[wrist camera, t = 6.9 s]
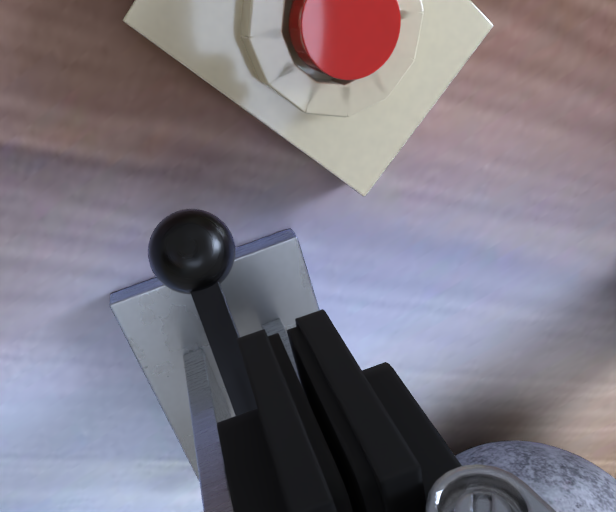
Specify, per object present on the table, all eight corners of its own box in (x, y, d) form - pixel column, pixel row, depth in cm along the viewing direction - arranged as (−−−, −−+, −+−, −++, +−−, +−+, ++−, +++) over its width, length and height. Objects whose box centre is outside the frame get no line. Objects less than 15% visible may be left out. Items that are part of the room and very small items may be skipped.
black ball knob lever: (144, 232, 22) (127, 219, 19) (220, 205, 23) (215, 188, 20) (258, 544, 22) (259, 583, 18) (334, 510, 22) (348, 544, 19)
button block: (123, 19, 22) (120, 21, 18) (256, -195, 20) (281, -238, 17) (348, 184, 27) (380, 210, 23) (467, 24, 25) (520, 26, 22)
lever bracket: (109, 293, 26) (91, 483, 15) (291, 227, 27) (387, 363, 17) (198, 469, 31) (229, 698, 21) (346, 408, 32) (444, 595, 22)
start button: (268, 34, 20) (279, 35, 18) (328, -55, 19) (345, -61, 18) (342, 94, 22) (358, 101, 20) (400, 14, 21) (421, 14, 19)
